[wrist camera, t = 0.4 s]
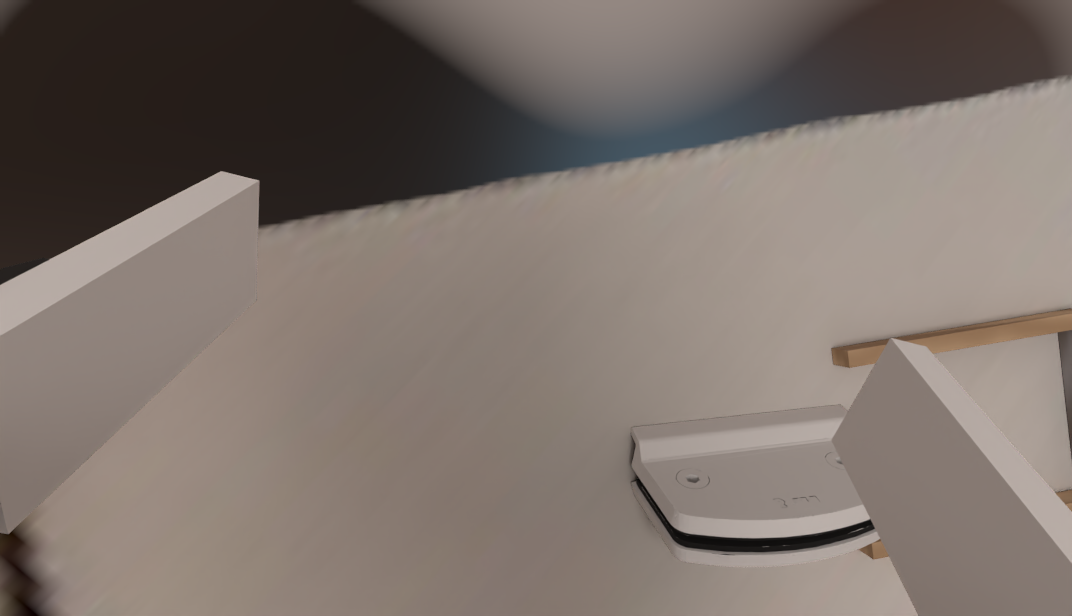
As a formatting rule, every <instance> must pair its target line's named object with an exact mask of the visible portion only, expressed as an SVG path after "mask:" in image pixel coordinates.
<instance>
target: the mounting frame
mask: <svg viewBox="0 0 1072 616" xmlns="http://www.w3.org/2000/svg"><path fill="white" fill-rule="evenodd" d="M1056 332H1058V336H1059V345H1060V354H1061V363H1062V372H1063V382H1064V391H1065V400H1066V409H1067V418H1068V427H1069V436H1070V445H1071V454H1072V309H1066V310H1060V311H1054V312H1047V313H1041V314H1035V315H1029V316H1023V317H1017V318H1011V319H1005V320H999V321H993V322H987V323H981V324H975V325H969V326H963V327H957V328H951V329H945V330H939V331H933V332H927V333H921V334H915V335H909V336H903V337H897V338H894V339H898V340H902V341H906V342H910V343H914V344H918V345H922V346H926V347H927V348H928V349H929V350H930V351H931V352H932V354H933V353H939V352H945V351H951V350H957V349H962V348H968V347H974V346H980V345H986V344H992V343H998V342H1004V341H1009V340H1015V339H1021V338H1027V337H1033V336H1039V335H1045V334H1051V333H1056ZM889 340H890V339H885V340H879V341H873V342H867V343H861V344H855V345H849V346H843V347H837V348H832V356H833V364H834V365H839V366H844V367H849V368H851V367H857V366H862V365H868V364H874V363H876V362H877V360H878V359H879V357H880V355H881V353H882V352H883V350H884V348H885V346H886V345H887V343H888V341H889ZM1056 494H1057V496H1058V497H1059V498H1060V499H1061V500H1062V501H1063V502H1064V504H1065V505H1066V506H1067V507H1068V508H1069V509H1070V510H1071V512H1072V490H1067V491H1062V492H1057V493H1056ZM859 550H860V551H862V552H863V553H865V554H866V555H868V556H869V557H871V558H872V559H878V558H883V557H888V556H889V555H888V553H887V551H886V549H885V547H884V545H883V543H882V541H881V539H879V540H877V541H875V542H874V543H871V544H869V545H867V546H865V547H863V548H860V549H859Z"/></svg>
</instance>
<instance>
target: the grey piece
mask: <svg viewBox="0 0 1072 616" xmlns="http://www.w3.org/2000/svg"><path fill="white" fill-rule="evenodd" d="M847 412H848V411H847V410H846V409H845V408H844V407H843V406H841V405H831V406H822V407H813V408H804V409H794V410H785V411H776V412H767V413H758V414H749V415H740V416H730V417H721V418H712V419H703V420H694V421H685V422H675V423H666V424H657V425H648V426H639V427H632V428H631V435H632V437H633V440H634V442H635V444H636V448H635V452H634V457H633V461H632V465H631V467H632V468H633V470H634V471H635V473H636V474H637V476H638V477H639V479H636V481H635V482H631V484H632V488H633V492H634V495H635V497H636V499H637V500H638V502H639V503H640V505H641V506H642V508H643V510H644V511H645V513H646V514H647V516H648V517H649V519H650V520H651V522H652V523H653V525H654V527H655V528H656V530H657V531H658V533H659V534H660V536H661V537H662V539H663V541H664V542H665V544H666V545H667V547H668V548H669V550H670V551H671V553H672V554H673V556H674V557H676V558H677V559H679V560H681V561H684V562H688V563H696V564H703V565H713V566H725V567H774V566H787V565H796V564H803V563H809V562H815V561H820V560H824V559H828V558H833V557H836V556H840V555H843V554H847V553H849V552H852V551H855V550H858V549H860V548H863V547H865V546H867V545H869V544H871V543H874V542H875V541H877V540H879V539H880V537H879V535H878V533H877V531H876V529H875V527H874V525H873V523H872V521H871V519H870V517H869V515H868V513H867V511H866V509H865V507H864V505H863V503H862V501H861V499H860V497H859V495H858V493H857V491H856V489H855V487H854V485H853V483H852V481H851V479H850V477H849V475H848V473H847V471H846V469H845V467H844V465H843V463H842V461H841V459H840V457H839V455H838V453H837V451H836V449H835V447H834V445H833V443H832V441H831V440H832V438H833V436H834V435H835V433H836V431H837V430H838V428H839V426H840V424H841V423H842V421H843V419H844V417H845V416H846V414H847Z"/></svg>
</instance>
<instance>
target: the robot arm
mask: <svg viewBox="0 0 1072 616" xmlns="http://www.w3.org/2000/svg"><path fill="white" fill-rule="evenodd" d="M258 210H259V181H258V180H254V179H250V178H246V177H242V176H238V175H234V174H230V173H226V172H222V171H221V172H219V173H217V174H215V175H213V176H211V177H209V178H207V179H205V180H203V181H201V182H200V183H198V184H196V185H194V186H192V187H190V188H188V189H186V190H184V191H182V192H180V193H178V194H176V195H174V196H172V197H170V198H168V199H167V200H165V201H163V202H161V203H159V204H157V205H155V206H153V207H151V208H149V209H147V210H145V211H143V212H141V213H139V214H137V215H135V216H133V217H132V218H130V219H128V220H126V221H124V222H122V223H120V224H118V225H116V226H114V227H112V228H110V229H108V230H106V231H104V232H102V233H100V234H98V235H97V236H95V237H93V238H91V239H89V240H87V241H85V242H83V243H81V244H79V245H77V246H75V247H73V248H71V249H69V250H68V251H65V252H64V253H62V254H60V255H58V256H56V257H54V258H52V259H46V258H41V259H37V260H33V261H29V262H25V263H21V264H17V265H13V266H9V267H5V268H3V269H0V532H1V533H5V534H9V533H10V532H11V531H12V530H13V529H14V528H15V527H16V526H17V525H18V524H20V523H21V522H22V521H23V520H24V519H25V518H26V517H27V516H28V515H29V514H30V513H31V512H32V511H33V510H34V509H35V508H37V507H38V506H39V505H40V504H41V503H42V502H43V501H44V500H45V499H46V498H47V497H48V496H49V495H50V494H51V493H52V492H53V491H55V490H56V489H57V488H58V487H59V486H60V485H61V484H62V483H63V482H64V481H65V480H66V479H67V478H68V477H69V476H70V475H72V474H73V473H74V472H75V471H76V470H77V469H78V468H79V467H80V466H81V465H82V464H83V463H84V462H85V461H86V460H87V459H89V458H90V457H91V456H92V455H93V454H94V453H95V452H96V451H97V450H98V449H99V448H100V447H101V446H102V445H103V444H104V443H106V442H107V441H108V440H109V439H110V438H111V437H112V436H113V435H114V434H115V433H116V432H117V431H118V430H119V429H120V428H121V427H122V426H124V425H125V424H126V423H127V422H128V421H129V420H130V419H131V418H132V417H133V416H134V415H135V414H136V413H137V412H138V411H139V410H141V409H142V408H143V407H144V406H145V405H146V404H147V403H148V402H149V401H150V400H151V399H152V398H153V397H154V396H155V395H156V394H158V393H159V392H160V391H161V390H162V389H163V388H164V387H165V386H166V385H167V384H168V383H169V382H170V381H171V380H172V379H173V378H174V377H176V376H177V375H178V374H179V373H180V372H181V371H182V370H183V369H184V368H185V367H186V366H187V365H188V364H189V363H190V362H191V361H193V360H194V359H195V358H196V357H197V356H198V355H199V354H200V353H201V352H202V351H203V350H204V349H205V348H206V347H207V346H208V345H210V344H211V343H212V342H213V341H214V340H215V339H216V338H217V337H218V336H219V335H220V334H221V333H222V332H223V331H224V330H225V329H227V328H228V327H229V326H230V325H231V324H232V323H233V322H234V321H235V320H236V319H237V318H238V317H239V316H240V315H241V314H242V313H243V312H245V311H246V310H247V309H248V308H249V307H250V306H251V305H252V304H253V303H254V302H255V301H256V300H257V256H258ZM831 441H832V443H833V445H834V447H835V449H836V451H837V453H838V455H839V457H840V459H841V461H842V463H843V465H844V467H845V469H846V471H847V473H848V475H849V477H850V479H851V481H852V483H853V485H854V487H855V489H856V491H857V493H858V495H859V497H860V499H861V501H862V503H863V505H864V507H865V509H866V511H867V513H868V515H869V517H870V519H871V521H872V523H873V525H874V527H875V529H876V531H877V533H878V535H879V537H880V539H881V541H882V543H883V545H884V547H885V549H886V551H887V553H888V555H889V557H890V559H891V561H892V563H893V565H894V567H895V569H896V571H897V573H898V575H899V577H900V579H901V581H902V583H903V585H904V587H905V589H906V591H907V593H908V595H909V597H910V599H911V601H912V603H913V606H914V608H915V610H916V612H917V614H918V616H1072V512H1071V510H1070V509H1069V508H1068V507H1067V506H1066V505H1065V504H1064V502H1063V501H1062V500H1061V499H1060V498H1059V497H1058V496H1057V494H1056V493H1055V492H1054V491H1053V490H1052V489H1051V488H1050V487H1049V485H1048V484H1047V483H1046V482H1045V481H1044V480H1043V479H1042V477H1041V476H1040V475H1039V474H1038V473H1037V472H1036V471H1035V469H1034V468H1033V467H1032V466H1031V465H1030V464H1029V463H1028V462H1027V460H1026V459H1025V458H1024V457H1023V456H1022V455H1021V454H1020V452H1019V451H1018V450H1017V449H1016V448H1015V447H1014V446H1013V444H1012V443H1011V442H1010V441H1009V440H1008V439H1007V438H1006V437H1005V435H1004V434H1003V433H1002V432H1001V431H1000V430H999V429H998V427H997V426H996V425H995V424H994V423H993V422H992V421H991V419H990V418H989V417H988V416H987V415H986V414H985V413H984V412H983V410H982V409H981V408H980V407H979V406H978V405H977V404H976V402H975V401H974V400H973V399H972V398H971V397H970V396H969V394H968V393H967V392H966V391H965V390H964V389H963V388H962V387H961V385H960V384H959V383H958V382H957V381H956V380H955V379H954V377H953V376H952V375H951V374H950V373H949V372H948V371H947V369H946V368H945V367H944V366H943V365H942V364H941V363H940V362H939V360H938V359H937V358H936V357H935V356H934V355H933V354H932V352H931V351H930V350H929V349H928V348H927V347H926V346H922V345H918V344H914V343H910V342H906V341H902V340H898V339H894V338H890V340H889V341H888V343H887V345H886V346H885V348H884V350H883V352H882V353H881V355H880V357H879V359H878V360H877V362H876V364H875V365H874V367H873V369H872V371H871V372H870V374H869V376H868V378H867V379H866V381H865V383H864V385H863V386H862V388H861V390H860V391H859V393H858V395H857V397H856V398H855V400H854V402H853V404H852V405H851V407H850V409H849V410H848V412H847V414H846V416H845V417H844V419H843V421H842V423H841V424H840V426H839V428H838V430H837V431H836V433H835V435H834V436H833V438H832V440H831Z"/></svg>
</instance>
